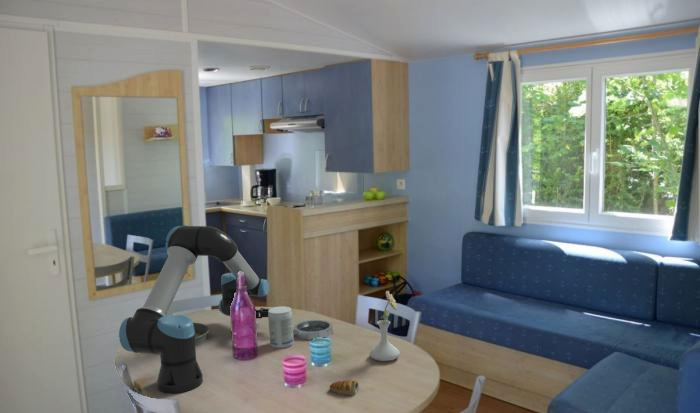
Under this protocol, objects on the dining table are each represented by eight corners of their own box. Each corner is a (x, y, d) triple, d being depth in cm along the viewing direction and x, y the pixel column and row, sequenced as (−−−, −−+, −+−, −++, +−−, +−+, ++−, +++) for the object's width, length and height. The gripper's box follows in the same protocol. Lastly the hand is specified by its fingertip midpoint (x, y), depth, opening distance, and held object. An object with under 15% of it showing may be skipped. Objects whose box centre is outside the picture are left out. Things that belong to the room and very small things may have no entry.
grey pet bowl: (339, 333, 242) (339, 326, 242) (305, 342, 233) (305, 335, 233) (320, 324, 256) (320, 317, 255) (287, 331, 247) (287, 325, 247)
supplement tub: (294, 339, 237) (292, 305, 235) (293, 348, 227) (291, 312, 226) (271, 341, 237) (269, 306, 235) (268, 349, 227) (266, 313, 225)
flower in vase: (390, 366, 206) (388, 298, 203) (363, 360, 212) (361, 295, 209) (407, 354, 217) (405, 289, 214) (381, 348, 223) (379, 286, 220)
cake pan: (201, 351, 228) (200, 341, 227) (140, 353, 229) (139, 342, 228) (216, 331, 252) (216, 321, 252) (161, 332, 253) (160, 322, 252)
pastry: (327, 394, 186) (327, 383, 185) (332, 386, 192) (332, 375, 192) (355, 396, 183) (355, 385, 183) (360, 388, 190) (359, 376, 190)
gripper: (266, 313, 261) (295, 323, 245) (218, 327, 244) (246, 338, 228) (265, 297, 260) (294, 306, 244) (217, 310, 243) (245, 320, 227)
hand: (271, 321), depth 236 cm, fingers open, 13 cm apart
